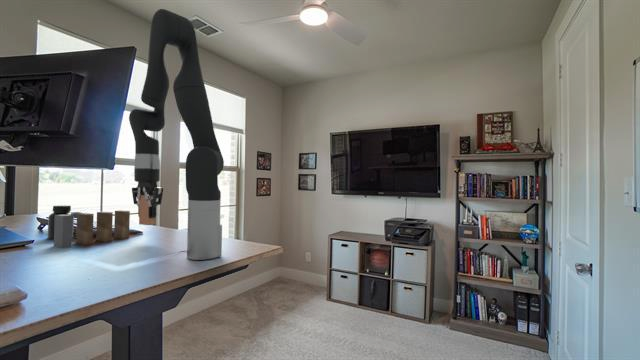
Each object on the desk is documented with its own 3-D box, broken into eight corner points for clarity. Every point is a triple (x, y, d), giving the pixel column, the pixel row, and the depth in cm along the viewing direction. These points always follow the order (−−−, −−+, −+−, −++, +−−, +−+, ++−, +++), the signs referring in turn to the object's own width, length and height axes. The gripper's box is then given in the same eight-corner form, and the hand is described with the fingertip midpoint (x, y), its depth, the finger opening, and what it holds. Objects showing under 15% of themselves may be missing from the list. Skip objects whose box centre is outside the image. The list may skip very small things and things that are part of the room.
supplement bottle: (62, 241, 101) (63, 206, 101) (41, 241, 100) (42, 206, 101) (78, 238, 107) (79, 205, 108) (59, 237, 107) (60, 204, 107)
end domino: (63, 245, 95) (63, 214, 95) (71, 247, 93) (72, 215, 93) (53, 246, 93) (54, 215, 93) (62, 248, 91) (63, 216, 91)
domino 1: (84, 242, 100) (85, 212, 100) (92, 243, 98) (93, 213, 98) (76, 243, 98) (76, 213, 98) (84, 245, 96) (85, 214, 96)
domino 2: (103, 239, 106) (104, 211, 106) (111, 240, 104) (112, 212, 104) (96, 240, 104) (96, 212, 104) (104, 241, 101) (105, 212, 102)
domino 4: (145, 223, 103) (146, 195, 103) (155, 224, 101) (155, 195, 101) (139, 224, 101) (139, 195, 101) (148, 225, 99) (148, 195, 99)
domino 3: (120, 236, 111) (121, 210, 111) (129, 237, 109) (129, 211, 109) (114, 237, 109) (114, 210, 109) (122, 239, 107) (123, 211, 107)
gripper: (123, 168, 101) (123, 217, 101) (150, 166, 94) (149, 219, 94) (144, 168, 108) (144, 215, 107) (171, 167, 101) (170, 217, 101)
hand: (147, 217), depth 101 cm, fingers closed on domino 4, 5 cm apart
